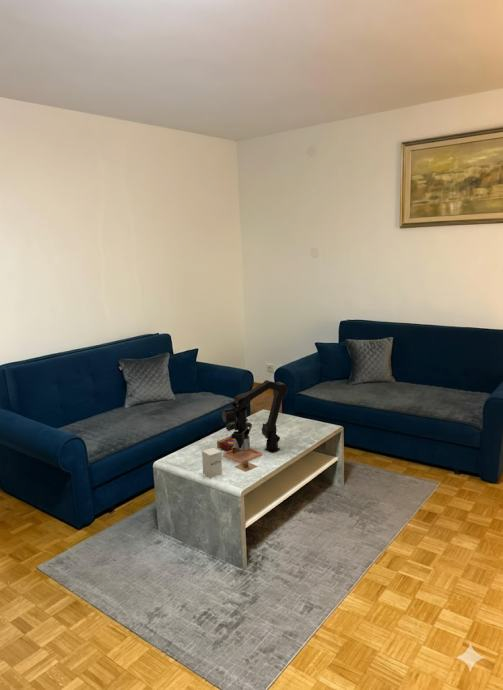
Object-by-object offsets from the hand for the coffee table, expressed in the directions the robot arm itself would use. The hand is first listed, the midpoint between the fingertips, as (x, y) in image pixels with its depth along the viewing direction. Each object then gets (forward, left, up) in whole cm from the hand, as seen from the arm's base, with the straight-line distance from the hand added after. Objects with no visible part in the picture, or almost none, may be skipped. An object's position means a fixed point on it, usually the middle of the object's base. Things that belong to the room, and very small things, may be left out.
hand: (242, 445), depth 275 cm
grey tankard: (0, 0, -1) cm, 1 cm away
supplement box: (+25, +4, -7) cm, 26 cm away
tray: (0, 0, -7) cm, 7 cm away
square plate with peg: (+8, +11, -7) cm, 16 cm away
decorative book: (-4, -13, -7) cm, 16 cm away
